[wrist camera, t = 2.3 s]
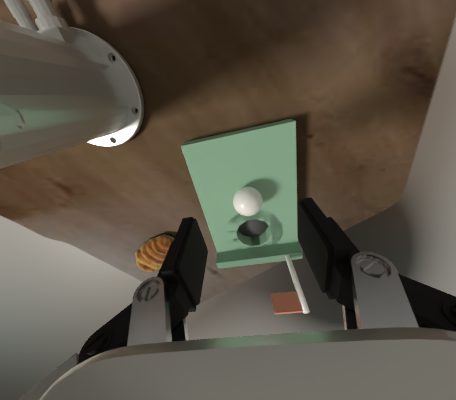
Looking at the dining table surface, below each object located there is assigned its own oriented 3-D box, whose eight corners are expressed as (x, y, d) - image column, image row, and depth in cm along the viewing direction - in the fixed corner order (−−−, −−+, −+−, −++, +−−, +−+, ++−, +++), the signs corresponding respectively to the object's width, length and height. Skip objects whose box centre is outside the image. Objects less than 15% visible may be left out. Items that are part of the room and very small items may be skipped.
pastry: (158, 225, 34) (150, 239, 31) (186, 242, 36) (182, 257, 33) (135, 249, 38) (126, 264, 34) (163, 264, 40) (156, 279, 37)
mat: (185, 142, 25) (175, 151, 21) (290, 118, 24) (302, 123, 19) (220, 248, 36) (218, 268, 32) (293, 238, 34) (302, 258, 30)
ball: (230, 184, 26) (230, 198, 22) (258, 179, 25) (262, 193, 22) (235, 207, 28) (236, 224, 24) (261, 203, 28) (266, 219, 24)
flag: (259, 237, 35) (274, 312, 22) (282, 234, 34) (309, 310, 22) (260, 240, 35) (274, 316, 23) (282, 237, 34) (309, 313, 22)
